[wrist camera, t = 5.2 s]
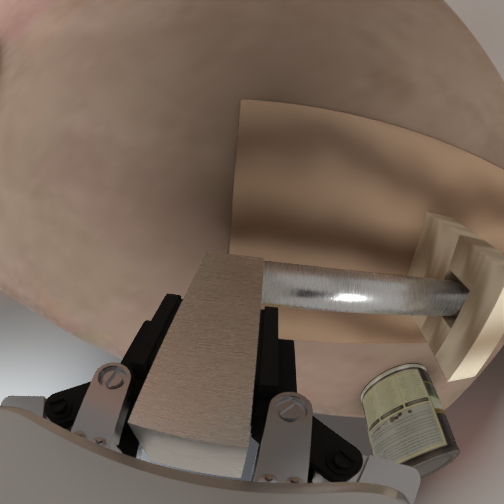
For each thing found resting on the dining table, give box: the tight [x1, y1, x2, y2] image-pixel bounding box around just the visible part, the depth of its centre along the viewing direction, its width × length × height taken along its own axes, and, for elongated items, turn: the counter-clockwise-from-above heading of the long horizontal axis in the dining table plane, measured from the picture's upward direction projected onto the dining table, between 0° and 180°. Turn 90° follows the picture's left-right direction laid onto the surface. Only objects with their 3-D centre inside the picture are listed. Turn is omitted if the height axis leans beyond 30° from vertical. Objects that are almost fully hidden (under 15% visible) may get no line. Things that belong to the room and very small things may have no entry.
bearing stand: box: [229, 99, 504, 382], centre depth 16 cm, size 20×31×12 cm, turn 85°
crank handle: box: [128, 251, 470, 478], centre depth 11 cm, size 18×3×11 cm, turn 85°
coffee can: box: [361, 363, 460, 479], centre depth 24 cm, size 10×10×14 cm
